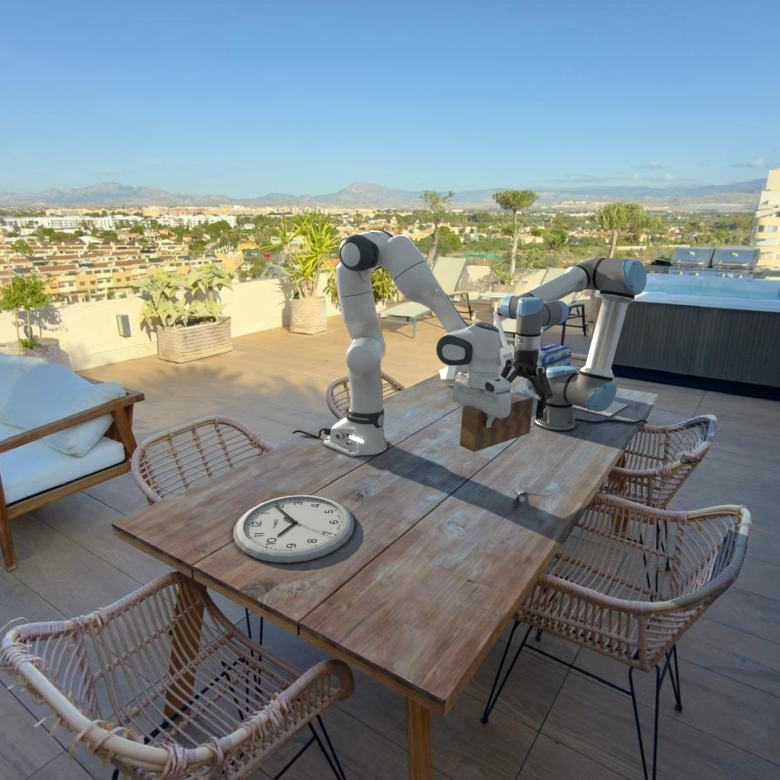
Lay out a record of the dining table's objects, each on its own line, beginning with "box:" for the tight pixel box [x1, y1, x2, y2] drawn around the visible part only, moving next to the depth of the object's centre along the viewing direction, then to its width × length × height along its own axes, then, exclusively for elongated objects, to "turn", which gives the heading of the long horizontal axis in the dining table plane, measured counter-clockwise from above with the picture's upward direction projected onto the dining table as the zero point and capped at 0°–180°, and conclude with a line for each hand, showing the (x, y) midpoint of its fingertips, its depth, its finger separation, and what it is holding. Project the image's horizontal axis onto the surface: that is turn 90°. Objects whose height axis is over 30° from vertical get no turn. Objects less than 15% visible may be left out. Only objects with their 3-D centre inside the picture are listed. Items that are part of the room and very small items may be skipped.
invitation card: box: [573, 400, 629, 418], centre depth 226 cm, size 21×1×15 cm
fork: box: [514, 479, 527, 511], centre depth 147 cm, size 3×16×2 cm, turn 160°
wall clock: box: [232, 494, 355, 564], centre depth 132 cm, size 30×2×30 cm
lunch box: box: [526, 343, 572, 392], centre depth 247 cm, size 26×11×21 cm, turn 134°
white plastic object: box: [438, 310, 531, 396], centre depth 245 cm, size 37×45×31 cm
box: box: [459, 391, 535, 453], centre depth 162 cm, size 26×6×12 cm, turn 128°
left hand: (478, 423), depth 156 cm, fingers closed on box, 6 cm apart
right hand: (521, 412), depth 168 cm, fingers open, 13 cm apart
